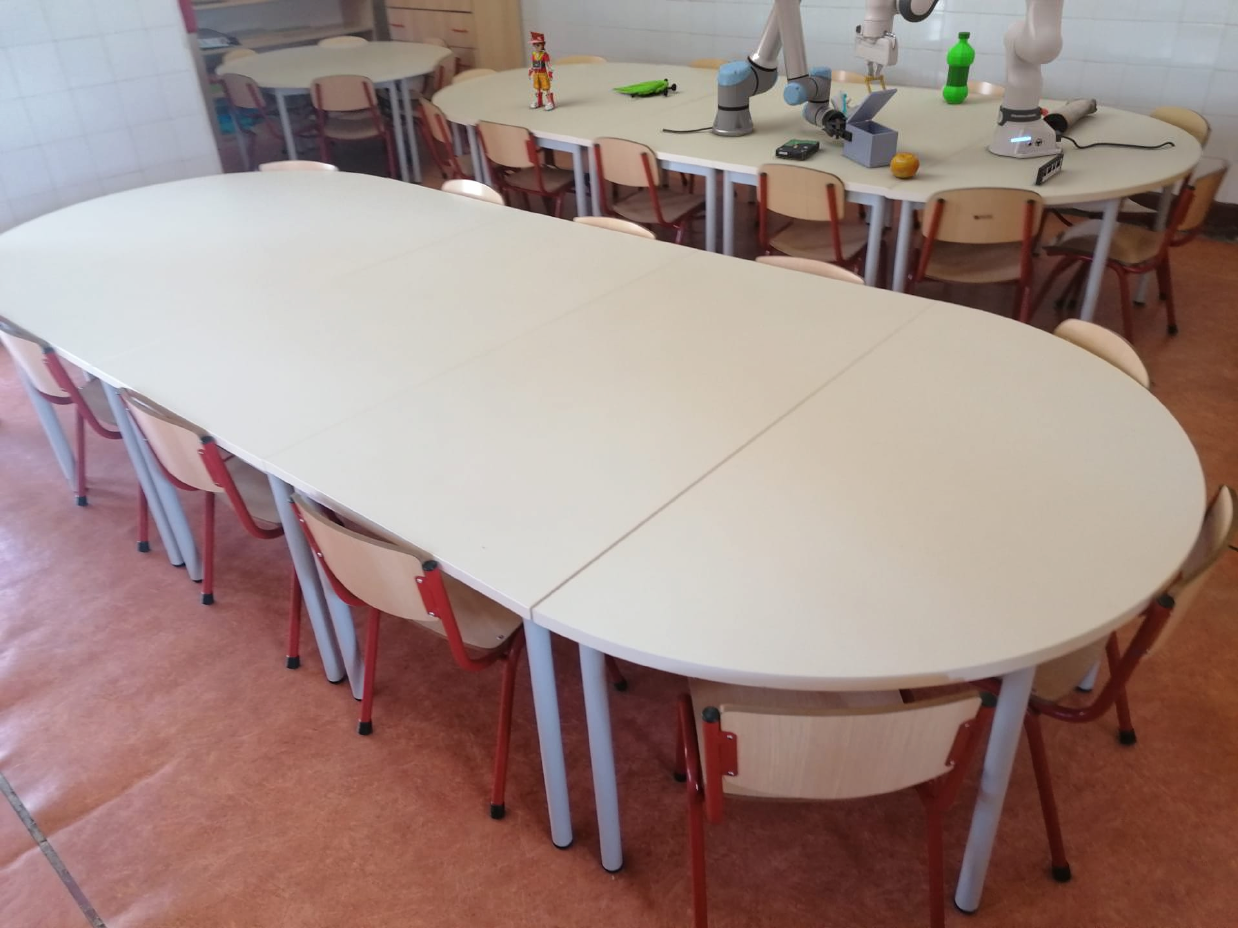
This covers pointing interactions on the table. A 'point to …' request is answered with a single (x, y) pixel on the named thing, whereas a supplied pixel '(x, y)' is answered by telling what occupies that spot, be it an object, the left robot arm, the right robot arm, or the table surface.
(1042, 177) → the midi keyboard
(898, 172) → the fruit
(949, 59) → the plastic bottle
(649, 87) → the toy
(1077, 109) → the rolled mat
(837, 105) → the anatomical model
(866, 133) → the chest
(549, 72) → the toy
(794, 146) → the disk drive
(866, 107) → the lid
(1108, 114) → the table surface
